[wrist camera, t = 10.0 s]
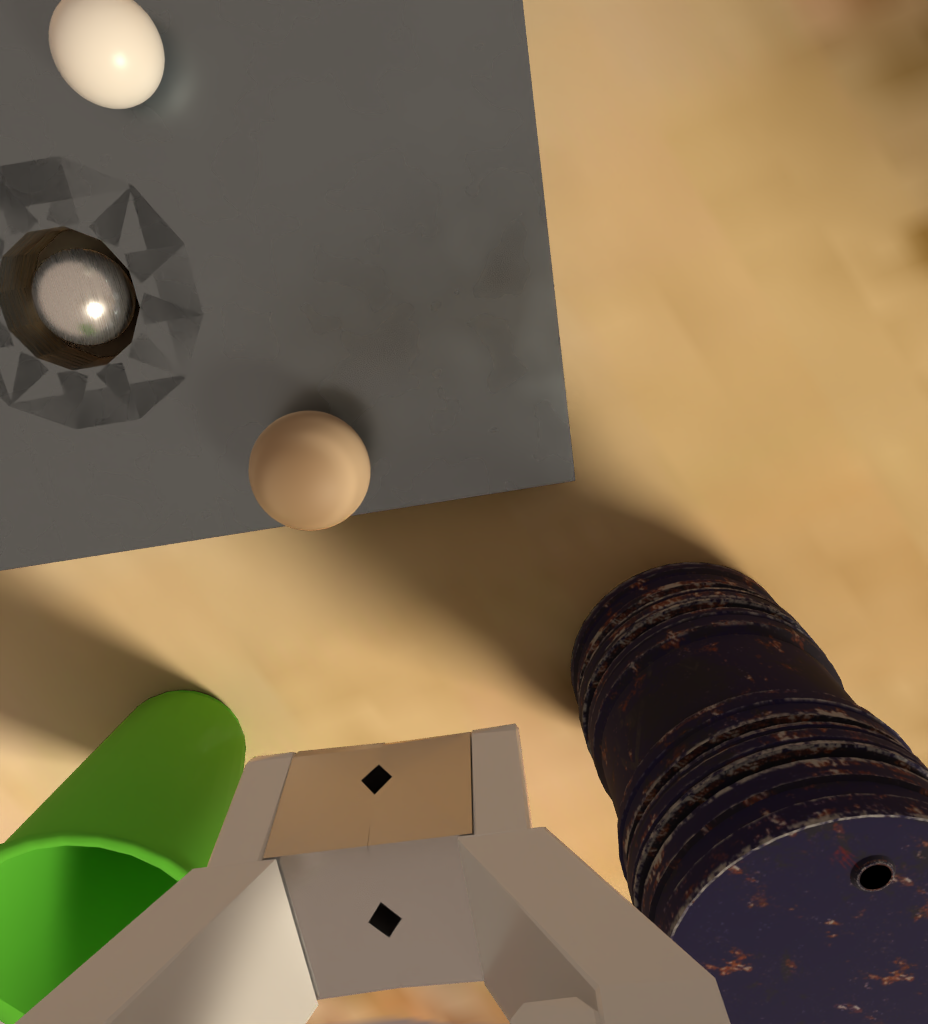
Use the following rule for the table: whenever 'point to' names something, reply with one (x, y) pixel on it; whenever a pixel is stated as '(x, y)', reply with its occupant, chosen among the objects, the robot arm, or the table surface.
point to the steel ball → (83, 296)
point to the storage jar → (757, 801)
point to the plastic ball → (107, 51)
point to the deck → (278, 266)
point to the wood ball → (309, 470)
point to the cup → (114, 840)
